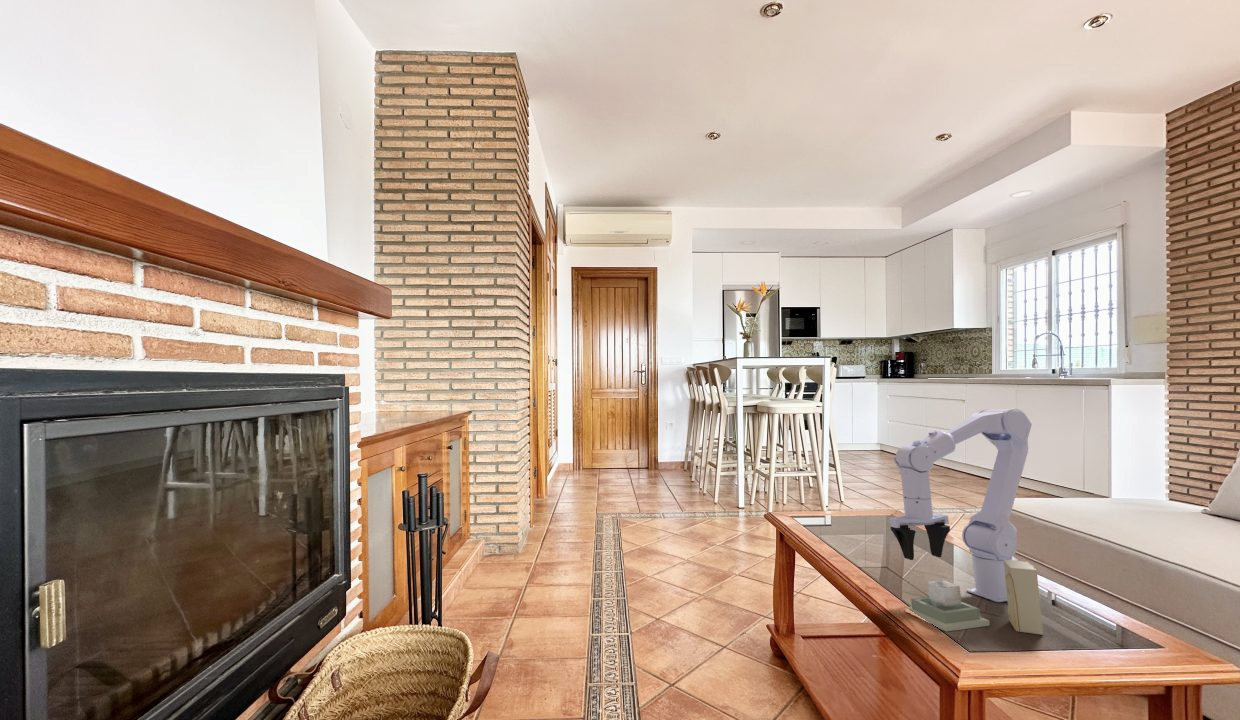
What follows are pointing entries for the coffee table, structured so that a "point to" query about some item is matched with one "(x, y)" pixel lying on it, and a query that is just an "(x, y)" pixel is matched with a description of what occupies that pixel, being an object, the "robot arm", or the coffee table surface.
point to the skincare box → (1023, 596)
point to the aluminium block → (944, 595)
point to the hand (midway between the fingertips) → (922, 557)
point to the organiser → (948, 615)
